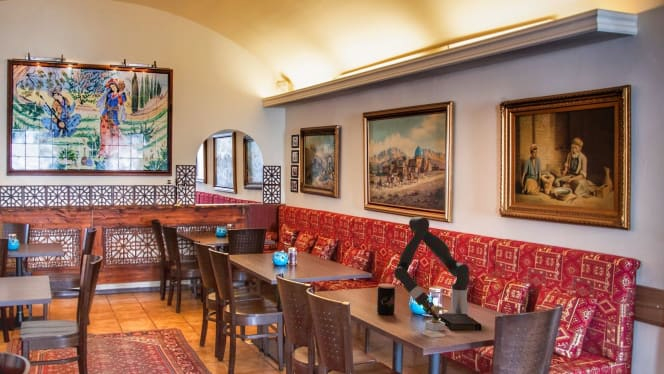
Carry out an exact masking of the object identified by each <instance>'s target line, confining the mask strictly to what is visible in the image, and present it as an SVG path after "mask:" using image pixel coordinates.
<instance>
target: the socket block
mask: <svg viewBox="0 0 664 374" xmlns="http://www.w3.org/2000/svg"><path fill="white" fill-rule="evenodd" d="M424 325H425V326H424V327H425V328H426V329H427V330H429V331H430V332H433V331H437V332H440V331H445V330H446V326H445V323H444V322H441V321H439V323H432V319H431V320H425V324H424Z"/></svg>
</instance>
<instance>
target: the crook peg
mask: <svg viewBox="0 0 664 374" xmlns="http://www.w3.org/2000/svg"><path fill="white" fill-rule="evenodd" d="M432 308H433V311H434V314H436V315H437V316H438V317H439V314H440V311H442V312H444V311H445V309H446V308H445V306H440V305H435V306H432ZM431 317H432V316H431ZM431 320H432V323H439V320H440V319H438V320H437V321H436V320H435V319H434V318H433V317H432V318H431Z"/></svg>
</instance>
